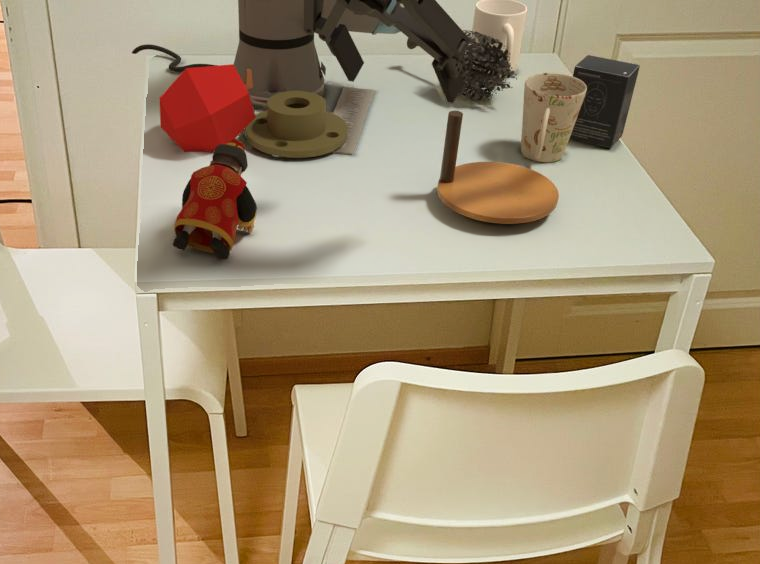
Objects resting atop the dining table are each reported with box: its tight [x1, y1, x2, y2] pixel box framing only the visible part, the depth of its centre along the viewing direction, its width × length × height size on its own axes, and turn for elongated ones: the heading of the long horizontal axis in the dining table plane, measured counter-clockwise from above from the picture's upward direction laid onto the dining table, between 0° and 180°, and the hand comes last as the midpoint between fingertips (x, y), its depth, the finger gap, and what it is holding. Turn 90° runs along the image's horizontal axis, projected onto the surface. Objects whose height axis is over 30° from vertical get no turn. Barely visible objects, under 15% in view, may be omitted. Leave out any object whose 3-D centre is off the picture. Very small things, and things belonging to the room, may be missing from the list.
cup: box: [469, 0, 528, 78], centre depth 154 cm, size 8×12×10 cm
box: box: [569, 54, 641, 149], centre depth 136 cm, size 8×6×11 cm
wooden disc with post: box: [436, 110, 560, 225], centre depth 120 cm, size 16×16×10 cm
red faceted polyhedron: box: [158, 63, 256, 153], centre depth 134 cm, size 12×12×15 cm
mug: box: [520, 72, 587, 163], centre depth 131 cm, size 8×13×10 cm, turn 163°
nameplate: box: [329, 87, 375, 156], centre depth 143 cm, size 23×1×5 cm
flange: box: [244, 91, 348, 159], centre depth 136 cm, size 5×15×15 cm
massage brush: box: [406, 29, 518, 102], centre depth 149 cm, size 9×22×9 cm
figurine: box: [172, 138, 258, 260], centre depth 115 cm, size 10×10×15 cm
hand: (404, 82), depth 109 cm, fingers open, 13 cm apart
